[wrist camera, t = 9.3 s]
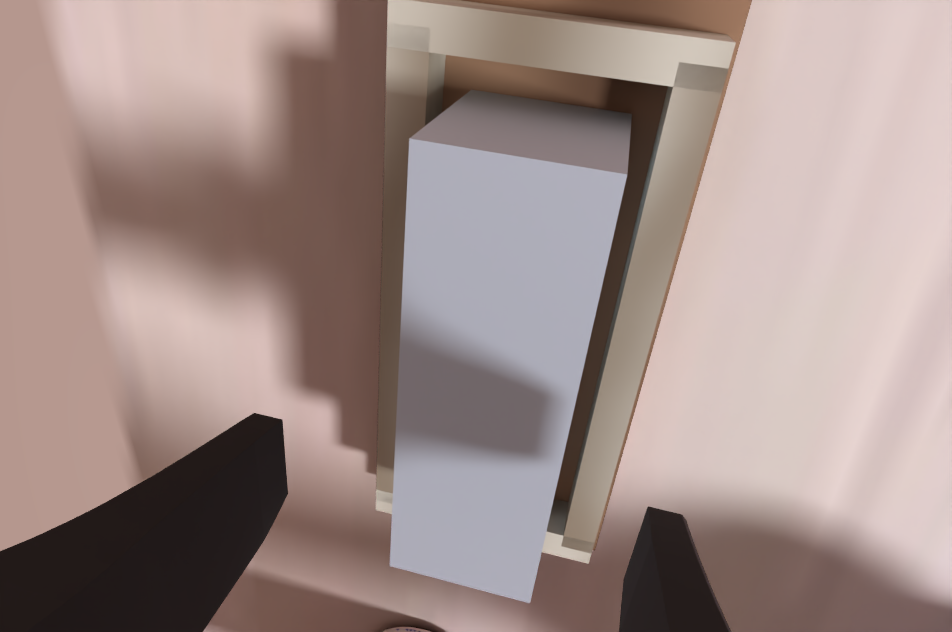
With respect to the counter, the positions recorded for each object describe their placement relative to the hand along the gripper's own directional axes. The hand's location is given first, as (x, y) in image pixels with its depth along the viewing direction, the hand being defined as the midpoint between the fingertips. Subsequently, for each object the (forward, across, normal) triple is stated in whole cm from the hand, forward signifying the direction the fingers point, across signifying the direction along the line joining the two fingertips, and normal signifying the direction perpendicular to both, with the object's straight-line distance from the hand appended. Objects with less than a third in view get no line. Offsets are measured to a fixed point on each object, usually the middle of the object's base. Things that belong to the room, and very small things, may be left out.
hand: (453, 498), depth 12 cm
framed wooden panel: (+9, 0, 0) cm, 9 cm away
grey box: (+8, 0, 0) cm, 8 cm away
